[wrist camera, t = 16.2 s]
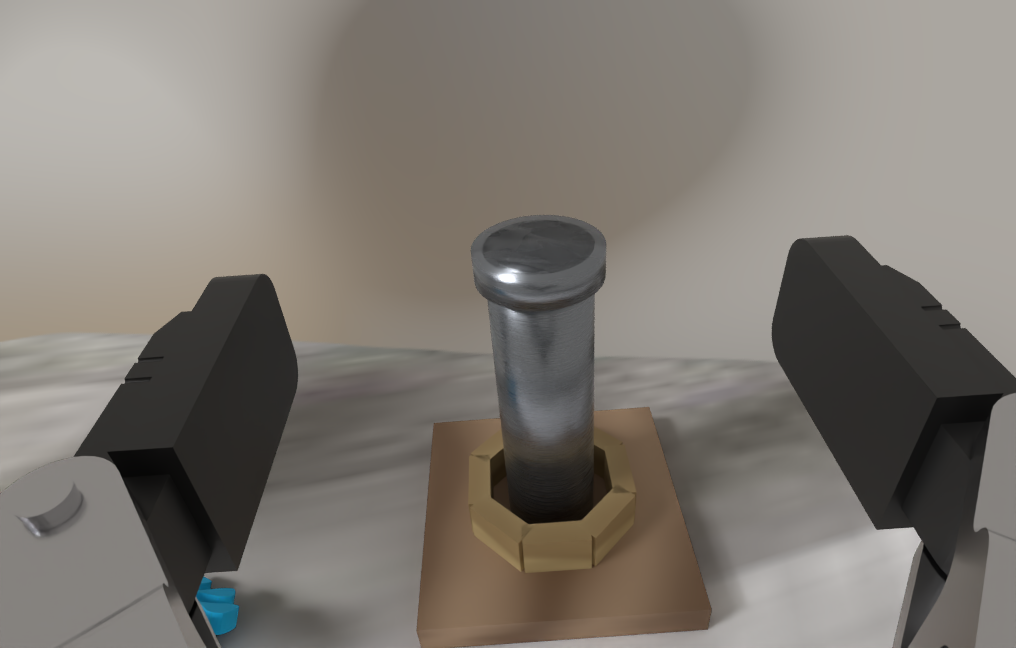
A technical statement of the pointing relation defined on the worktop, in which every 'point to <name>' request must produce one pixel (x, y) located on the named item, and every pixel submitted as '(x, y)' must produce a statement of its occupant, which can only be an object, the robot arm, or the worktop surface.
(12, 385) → the worktop surface
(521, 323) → the pin
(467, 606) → the stand
